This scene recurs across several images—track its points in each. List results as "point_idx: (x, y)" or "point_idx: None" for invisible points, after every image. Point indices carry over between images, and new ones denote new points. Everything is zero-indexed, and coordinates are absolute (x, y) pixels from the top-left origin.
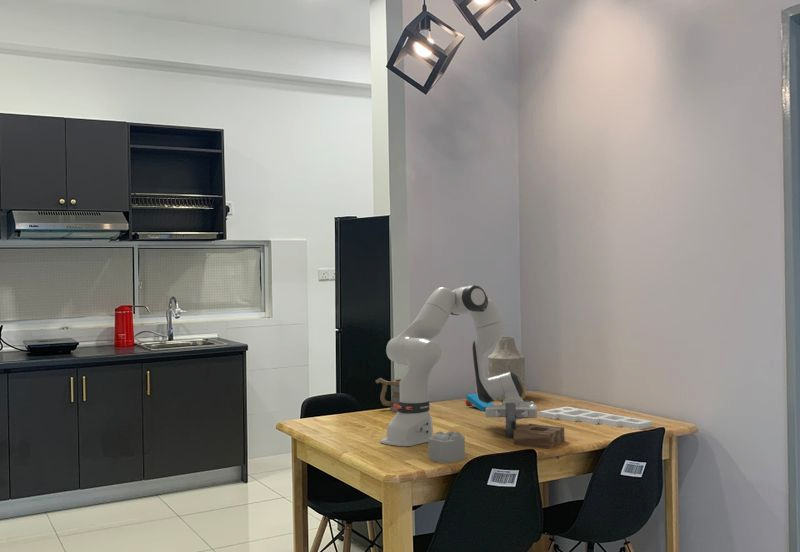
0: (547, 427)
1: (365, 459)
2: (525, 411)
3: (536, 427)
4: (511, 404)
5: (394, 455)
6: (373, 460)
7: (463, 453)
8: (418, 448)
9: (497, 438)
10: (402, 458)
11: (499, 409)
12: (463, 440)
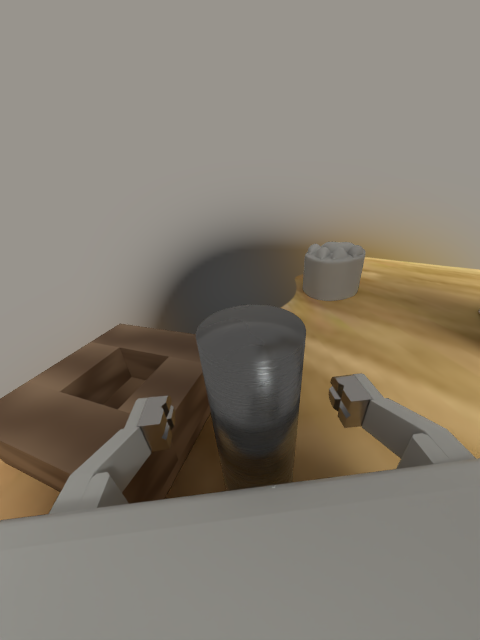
0: (58, 406)
1: (437, 268)
2: (100, 474)
3: (112, 409)
4: (235, 307)
5: (423, 281)
6: (421, 268)
7: (303, 281)
8: (440, 307)
9: (319, 447)
10: (393, 277)
11: (422, 466)
12: (305, 259)
